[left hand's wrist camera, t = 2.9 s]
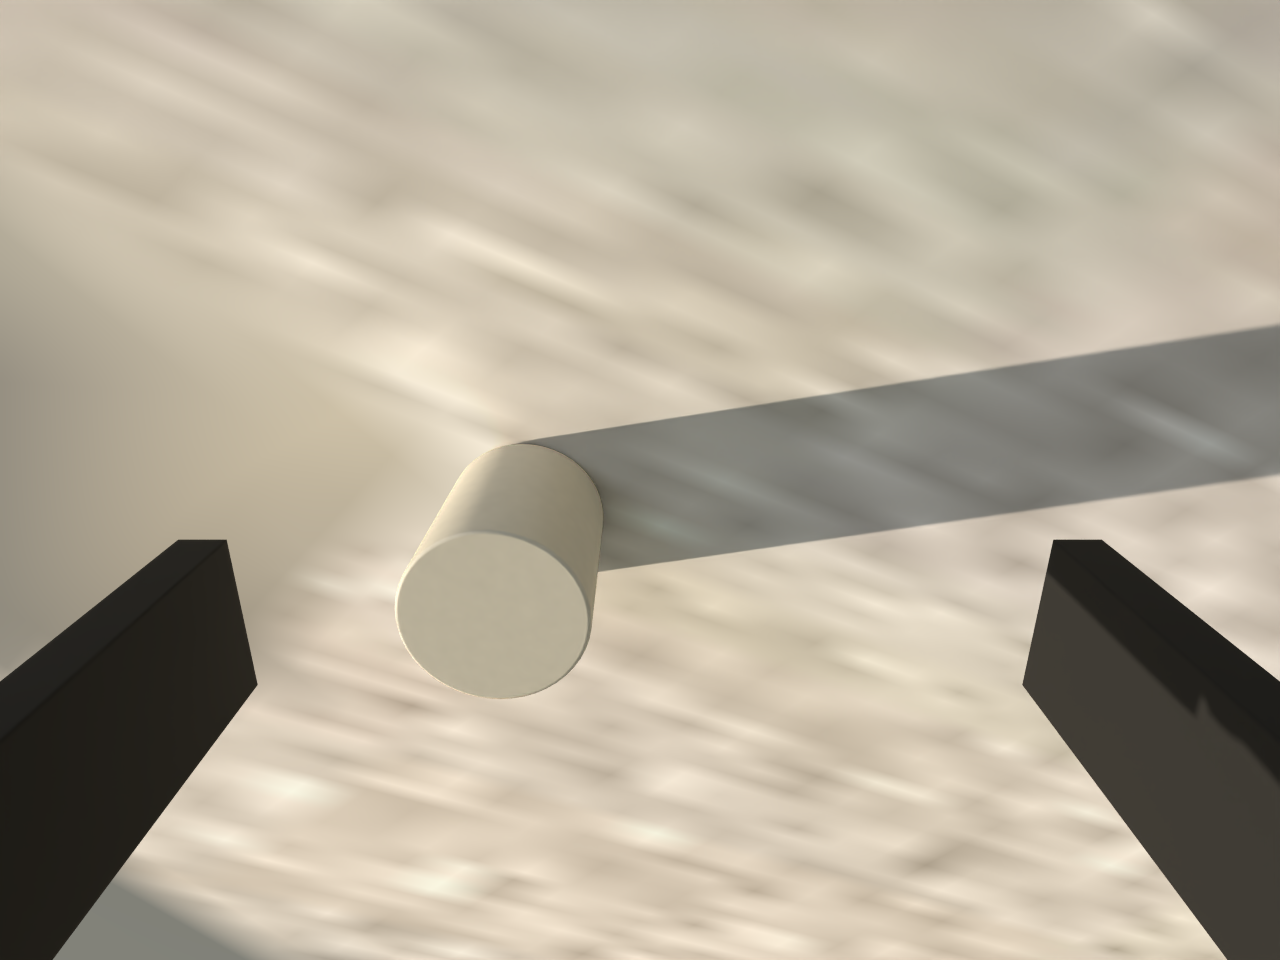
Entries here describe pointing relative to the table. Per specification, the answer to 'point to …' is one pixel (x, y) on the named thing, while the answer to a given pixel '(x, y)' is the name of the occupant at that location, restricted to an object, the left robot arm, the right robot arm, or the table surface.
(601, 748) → the table surface
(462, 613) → the cylinder
